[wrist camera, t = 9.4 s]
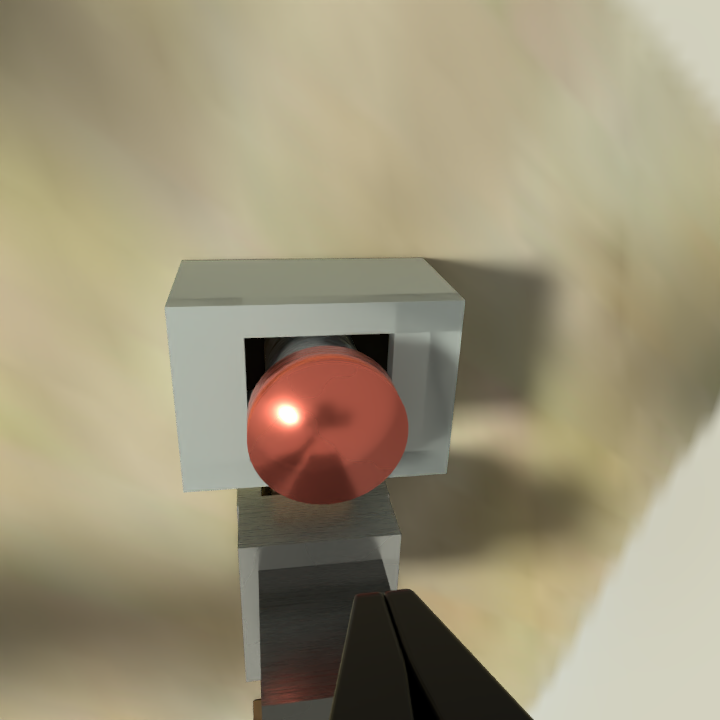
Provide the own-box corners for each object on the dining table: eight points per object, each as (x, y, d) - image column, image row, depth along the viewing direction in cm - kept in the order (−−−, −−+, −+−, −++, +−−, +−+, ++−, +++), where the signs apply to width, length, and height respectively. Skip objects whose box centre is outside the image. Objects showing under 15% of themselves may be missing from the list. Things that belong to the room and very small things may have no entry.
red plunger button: (364, 394, 19) (403, 498, 15) (249, 400, 19) (250, 510, 14) (368, 285, 18) (414, 360, 13) (244, 288, 17) (242, 367, 13)
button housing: (411, 404, 20) (446, 473, 17) (195, 415, 19) (183, 492, 16) (422, 257, 18) (465, 300, 15) (181, 260, 17) (164, 307, 14)
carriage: (368, 566, 23) (427, 800, 15) (244, 578, 22) (243, 830, 15) (374, 451, 21) (445, 656, 13) (238, 460, 20) (232, 683, 12)
